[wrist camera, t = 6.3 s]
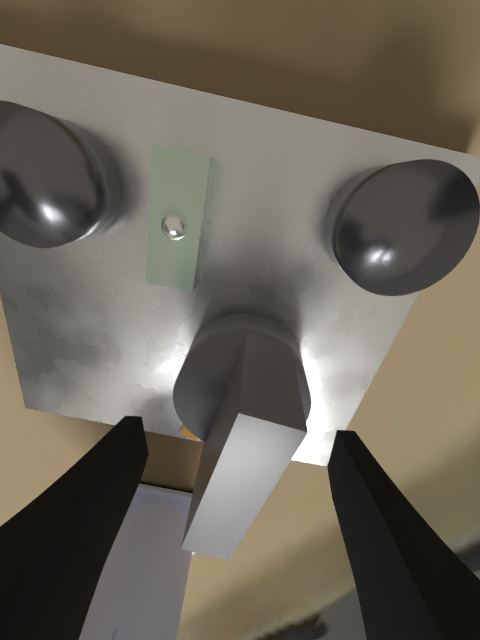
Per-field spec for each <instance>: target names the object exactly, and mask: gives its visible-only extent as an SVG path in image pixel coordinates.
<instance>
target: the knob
mask: <svg viewBox="0 0 480 640" xmlns="http://www.w3.org/2000/svg"><path fill="white" fill-rule="evenodd" d="M173 404H174V408H175V411H176V413H177V415H178V417H179V419H180V421H181V422H182V423H183V425H184V426H185V427H186V428H187V429H188V430H189V431H190V432H191V433H192V434H193V435H195V436H196V437H197V438H199V439H200V440H202V441H204V442H205V444H204V447H203V449H202V453H201V456H200V459H199V462H198V466H197V470H196V471H197V476H196V481H195V485H194V490H193V494H192V499H191V504H190V508H189V513H188V517H187V522H186V527H185V531H184V536H183V540H182V545H181V549H183V550H187V551H192V552H196V553H200V554H204V555H208V556H213V557H217V558H221V559H225V560H229V559H230V558H231V556H232V554H233V553H234V551H235V550H236V548H237V546H238V545H239V543H240V541H241V540H242V538H243V537H244V535H245V533H246V532H247V530H248V529H249V527H250V525H251V524H252V522H253V520H254V519H255V517H256V516H257V514H258V512H259V511H260V509H261V508H262V506H263V504H264V503H265V501H266V500H267V498H268V496H269V495H270V493H271V491H272V490H273V488H274V487H275V485H276V483H277V482H278V480H279V479H280V477H281V475H282V474H283V472H284V470H285V469H286V467H287V466H288V464H289V462H290V461H291V459H292V458H293V456H294V454H295V453H296V451H297V450H298V448H299V446H300V445H301V443H302V441H303V440H304V438H305V437H306V435H307V433H308V430H307V425H306V421H307V419H308V417H309V414H310V411H311V394H310V390H309V386H308V382H307V378H306V374H305V370H304V365H303V361H302V357H301V353H300V349H299V347H298V344H297V342H296V341H295V339H294V338H293V336H292V335H291V334H290V333H289V332H288V331H287V330H286V329H285V328H284V327H283V326H281V325H280V324H278V323H277V322H275V321H273V320H271V319H269V318H266V317H264V316H260V315H256V314H248V313H239V314H231V315H227V316H223V317H220V318H218V319H216V320H214V321H212V322H210V323H209V324H207V325H206V326H204V327H203V328H202V329H201V330H200V331H199V333H198V334H197V335H196V336H195V338H194V340H193V342H192V344H191V346H190V349H189V351H188V353H187V356H186V358H185V360H184V363H183V365H182V367H181V370H180V372H179V374H178V377H177V379H176V382H175V384H174V389H173Z"/></svg>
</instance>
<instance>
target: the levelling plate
mask: <svg viewBox="0 0 480 640" xmlns="http://www.w3.org/2000/svg"><path fill="white" fill-rule="evenodd" d="M479 181H480V157H479V156H474V155H470V154H466V153H462V152H457V151H453V150H449V149H445V148H440V147H436V146H432V145H428V144H423V143H419V142H415V141H411V140H406V139H402V138H398V137H394V136H389V135H385V134H381V133H377V132H372V131H368V130H364V129H360V128H355V127H351V126H347V125H343V124H338V123H334V122H330V121H326V120H321V119H317V118H313V117H309V116H305V115H300V114H296V113H292V112H288V111H283V110H279V109H275V108H271V107H266V106H262V105H258V104H254V103H249V102H245V101H241V100H237V99H232V98H228V97H224V96H220V95H215V94H211V93H207V92H203V91H198V90H194V89H190V88H186V87H181V86H177V85H173V84H169V83H164V82H160V81H156V80H152V79H147V78H143V77H139V76H135V75H130V74H126V73H122V72H118V71H113V70H109V69H105V68H101V67H96V66H92V65H88V64H84V63H80V62H75V61H71V60H67V59H63V58H58V57H54V56H50V55H46V54H41V53H37V52H33V51H29V50H24V49H20V48H16V47H12V46H7V45H3V44H0V294H1V298H2V303H3V307H4V312H5V316H6V321H7V326H8V330H9V335H10V339H11V344H12V348H13V353H14V358H15V362H16V367H17V371H18V376H19V380H20V385H21V389H22V394H23V399H24V403H25V408H29V409H34V410H40V411H45V412H50V413H55V414H60V415H65V416H70V417H75V418H81V419H86V420H91V421H96V422H101V423H106V424H111V425H116V424H117V423H118V422H119V421H120V420H121V419H122V418H123V417H125V416H141V417H142V421H143V426H144V431H147V432H152V433H158V434H163V435H168V436H173V437H178V438H183V439H188V440H193V441H199V442H204V441H202V440H200V439H199V438H197V437H196V436H195V435H193V434H192V433H191V432H190V431H189V430H188V429H187V428H186V427H185V426H184V425H183V423H182V422H181V421H180V419H179V417H178V415H177V413H176V411H175V408H174V404H173V389H174V384H175V382H176V379H177V377H178V374H179V372H180V370H181V367H182V365H183V363H184V360H185V358H186V356H187V353H188V351H189V349H190V346H191V344H192V342H193V340H194V338H195V336H196V335H197V334H198V333H199V331H200V330H201V329H202V328H203V327H204V326H206V325H207V324H209V323H210V322H212V321H214V320H216V319H218V318H220V317H223V316H227V315H231V314H239V313H248V314H256V315H260V316H264V317H266V318H269V319H271V320H273V321H275V322H277V323H278V324H280V325H281V326H283V327H284V328H285V329H286V330H287V331H288V332H289V333H290V334H291V335H292V336H293V338H294V339H295V341H296V342H297V344H298V347H299V349H300V353H301V357H302V361H303V365H304V370H305V374H306V378H307V382H308V386H309V390H310V394H311V411H310V414H309V417H308V419H307V421H306V425H307V430H308V433H307V435H306V437H305V438H304V440H303V441H302V443H301V445H300V446H299V448H298V450H297V451H296V453H295V454H294V456H293V458H292V459H291V460H296V461H301V462H306V463H312V464H317V465H322V466H326V465H327V463H328V461H329V459H330V455H331V451H332V447H333V443H334V440H335V436H336V432H337V430H346V428H347V426H348V424H349V422H350V420H351V418H352V417H353V415H354V413H355V411H356V409H357V407H358V406H359V404H360V402H361V400H362V398H363V396H364V394H365V393H366V391H367V389H368V387H369V385H370V383H371V381H372V380H373V378H374V376H375V374H376V372H377V370H378V368H379V367H380V365H381V363H382V361H383V359H384V357H385V356H386V354H387V352H388V350H389V348H390V346H391V344H392V343H393V341H394V339H395V337H396V335H397V333H398V331H399V330H400V328H401V326H402V324H403V322H404V320H405V318H406V317H407V315H408V313H409V311H410V309H411V307H412V306H413V304H414V302H415V300H416V298H417V296H418V294H419V293H420V291H421V290H423V289H425V288H427V287H429V286H431V285H433V284H435V283H436V282H438V281H439V280H441V279H442V278H443V277H445V276H446V275H447V274H448V273H449V272H451V271H452V270H453V269H454V268H455V267H456V266H457V264H458V263H459V262H460V261H461V260H462V258H463V257H464V256H465V254H466V252H467V251H468V249H469V248H470V246H471V244H472V242H473V240H474V237H475V234H476V232H477V228H478V224H479V216H480V204H479V198H478V194H477V191H476V187H477V185H478V183H479ZM204 443H205V442H204Z"/></svg>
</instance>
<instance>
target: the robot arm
mask: <svg viewBox="0 0 480 640" xmlns="http://www.w3.org/2000/svg"><path fill="white" fill-rule="evenodd" d="M148 454H149V453H148V448H147V442H146V437H145V432H144V426H143V421H142V417H141V416H125V417H123V418H122V419H121V420H120V421H119V422H118V423H117V424H116V425H115V426H114V427H113V428H112V429H111V430H110V431H109V432H108V433H107V434H106V435H105V436H104V437H103V438H102V439H101V440H100V441H99V442H98V443H97V444H96V445H95V446H94V447H93V448H92V449H91V450H89V451H88V452H87V453H86V454H85V455H84V456H83V457H82V458H81V459H80V460H79V461H78V462H77V463H76V464H75V465H73V466H72V467H71V468H70V469H69V470H68V471H67V472H66V473H65V474H63V475H62V476H61V477H60V478H59V479H58V480H57V481H55V482H54V483H53V484H52V485H51V486H50V487H49V488H47V489H46V490H45V491H44V492H43V493H42V494H40V495H39V496H38V497H37V498H36V499H34V500H33V501H32V502H31V503H30V504H28V505H27V506H26V507H25V508H23V509H22V510H21V511H20V512H18V513H17V514H16V515H15V516H13V517H12V518H11V519H9V520H8V521H7V522H6V523H4V524H3V525H2V526H0V640H176V638H177V632H178V627H179V621H180V616H181V610H182V605H183V600H184V594H185V589H186V583H187V578H188V572H189V567H190V562H191V556H192V555H194V554H195V552H192V551H187V550H183V549H181V545H182V540H183V536H184V531H185V527H186V522H187V517H188V513H189V508H190V504H191V499H192V494H193V493H187V492H182V491H177V490H171V489H166V488H161V487H156V486H150V485H145V484H140V480H141V477H142V474H143V471H144V467H145V464H146V461H147V457H148ZM328 474H329V480H330V486H331V492H332V498H333V502H334V506H335V509H336V513H337V517H338V521H339V524H340V528H341V532H342V535H343V539H344V543H345V546H346V550H347V554H348V557H349V561H350V565H351V568H352V572H353V576H354V580H355V584H356V588H357V592H358V596H359V601H360V606H361V612H362V617H363V622H364V627H365V632H366V637H367V640H480V580H479V578H478V577H477V576H476V575H475V574H474V573H473V572H472V571H471V570H470V569H469V568H468V567H467V566H466V565H465V564H464V563H463V562H462V561H461V560H460V559H459V558H458V557H457V556H456V555H455V554H454V553H453V551H452V550H451V549H450V548H449V547H448V546H447V545H446V544H445V543H444V542H443V541H442V540H441V538H440V537H439V536H438V535H437V534H436V533H435V532H434V531H433V529H432V528H431V527H430V526H429V525H428V524H427V523H426V521H425V520H424V519H423V518H422V517H421V516H420V514H419V513H418V512H417V511H416V510H415V509H414V507H413V506H412V505H411V504H410V503H409V501H408V500H407V499H406V498H405V496H404V495H403V494H402V493H401V491H400V490H399V489H398V488H397V486H396V485H395V484H394V483H393V481H392V480H391V479H390V478H389V476H388V475H387V474H386V473H385V471H384V470H383V469H382V467H381V466H380V465H379V463H378V462H377V461H376V459H375V458H374V457H373V455H372V454H371V453H370V451H369V450H368V449H367V447H366V446H365V444H364V443H363V442H362V440H361V439H360V438H359V436H358V435H357V434H356V432H355V431H347V430H337V432H336V436H335V440H334V443H333V447H332V451H331V455H330V459H329V463H328Z"/></svg>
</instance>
